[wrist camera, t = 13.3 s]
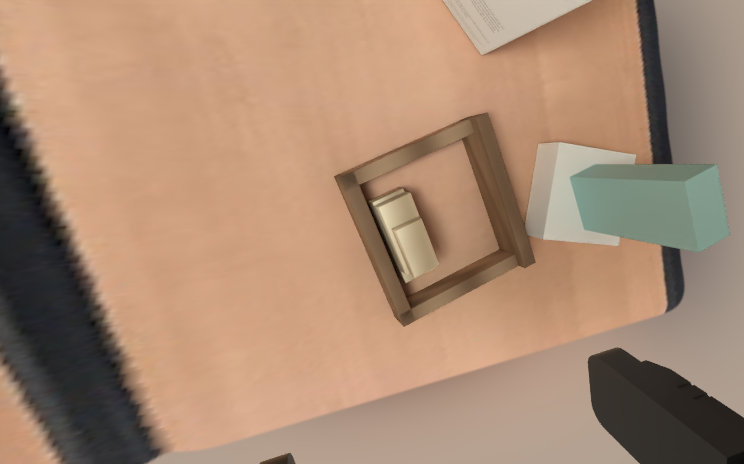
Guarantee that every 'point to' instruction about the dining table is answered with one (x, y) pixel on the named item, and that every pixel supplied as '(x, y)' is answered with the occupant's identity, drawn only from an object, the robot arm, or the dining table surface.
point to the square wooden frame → (495, 198)
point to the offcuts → (404, 234)
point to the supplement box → (505, 18)
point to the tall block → (653, 203)
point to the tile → (564, 192)
